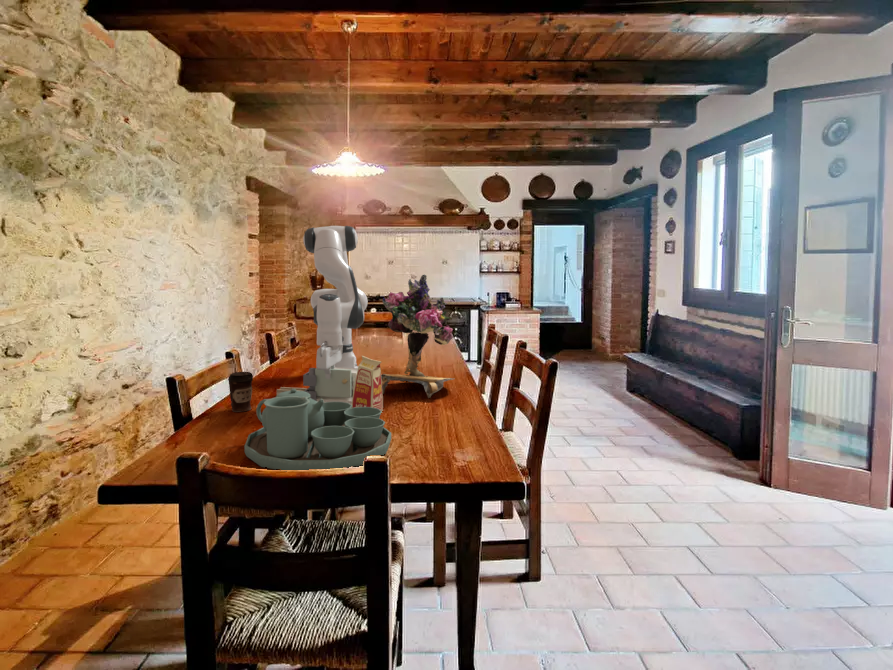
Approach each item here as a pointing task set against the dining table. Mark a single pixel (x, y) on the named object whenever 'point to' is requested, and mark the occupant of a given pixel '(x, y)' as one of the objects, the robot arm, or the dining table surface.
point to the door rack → (288, 389)
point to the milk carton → (368, 385)
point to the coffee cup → (240, 390)
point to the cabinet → (311, 381)
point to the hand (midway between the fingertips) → (329, 377)
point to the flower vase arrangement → (423, 319)
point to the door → (332, 383)
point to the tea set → (315, 433)
